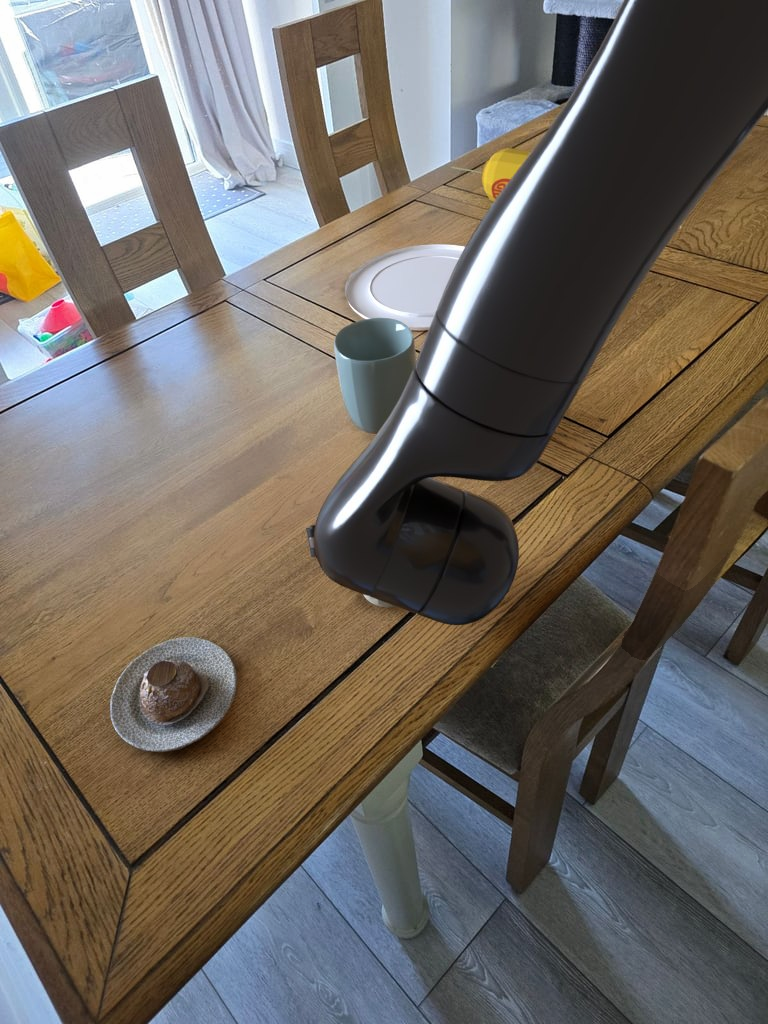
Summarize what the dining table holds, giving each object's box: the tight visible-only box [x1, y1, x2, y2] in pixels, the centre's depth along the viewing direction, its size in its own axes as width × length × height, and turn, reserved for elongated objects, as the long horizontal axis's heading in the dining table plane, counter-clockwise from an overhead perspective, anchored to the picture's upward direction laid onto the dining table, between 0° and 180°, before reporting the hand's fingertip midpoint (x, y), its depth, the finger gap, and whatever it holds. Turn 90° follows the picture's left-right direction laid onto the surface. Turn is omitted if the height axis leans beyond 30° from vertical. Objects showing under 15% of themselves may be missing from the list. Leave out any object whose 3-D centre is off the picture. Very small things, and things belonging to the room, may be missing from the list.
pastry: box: [110, 636, 238, 753], centre depth 65 cm, size 12×12×5 cm
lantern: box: [450, 147, 533, 203], centre depth 134 cm, size 10×10×30 cm
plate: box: [344, 243, 465, 332], centre depth 117 cm, size 28×28×1 cm
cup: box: [333, 318, 417, 435], centre depth 89 cm, size 10×10×13 cm
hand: (381, 526), depth 69 cm, fingers open, 8 cm apart
